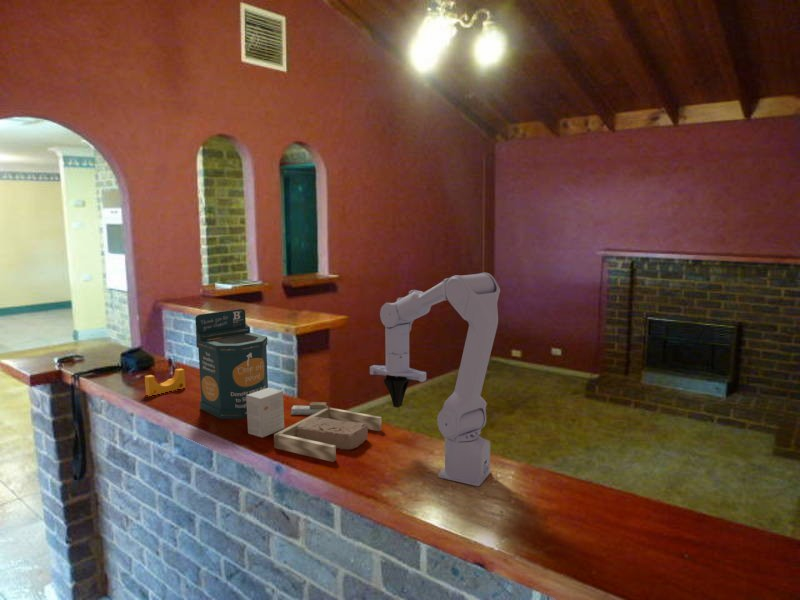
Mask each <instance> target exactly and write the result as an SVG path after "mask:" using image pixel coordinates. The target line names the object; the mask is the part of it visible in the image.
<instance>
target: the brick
mask: <svg viewBox="0 0 800 600" xmlns="http://www.w3.org/2000/svg"><path fill="white" fill-rule="evenodd" d="M368 431H369V429H368V427H367V424H363V423H358V422H344V421H339V420H334V419H329V418H322V417H320V418H319V417H312V418H309V419H307V420H306V421H304V422H303V423H301V424H300V425H298V426H297V437H299V438H303V439H308V440H312V441H317V442H321V443H326V444H330V445H335V446H336V449H338V448H340V449H339V450H353V449H356V448H359V446H360V445H363V444H364V442H365V441H367V438H368V433H369V432H368Z"/></svg>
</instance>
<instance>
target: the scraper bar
mask: <svg viewBox="0 0 800 600" xmlns="http://www.w3.org/2000/svg"><path fill="white" fill-rule="evenodd" d="M327 407H329V406H328V405H327V402H325V401H323V402H322V401H321V402H320V401H317V402H316V401H310V403H309V405H292V407H291V409H290V414H291V416H311V415H313V414H315V413H317V412H319V411H321V410H323V409H325V408H327Z"/></svg>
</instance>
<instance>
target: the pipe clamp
mask: <svg viewBox="0 0 800 600" xmlns="http://www.w3.org/2000/svg"><path fill="white" fill-rule="evenodd" d="M185 371H186V370H185V369H184V368H181V367H180V368H176V369H174V375H173V377H172V378H168V379H167V380H166V381H163V382H161V383H158V382H157V380H156V377H155V375H152V374H148V375H145V376H144V384H145V396H146V395H148V396H147V397H149V396H152V395H156V396H158V395H157V394H160V395H162V394H161V393H164V394H166V393H165V392H168V393H170V392H169V391H172V392H174V391H173V390H176V391H178V390H177V389H181V388H185V387H186V374H185V373H186V372H185ZM186 388H187V387H186ZM186 388H185V389H186ZM181 390H182V389H181ZM152 397H153V396H152Z"/></svg>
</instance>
